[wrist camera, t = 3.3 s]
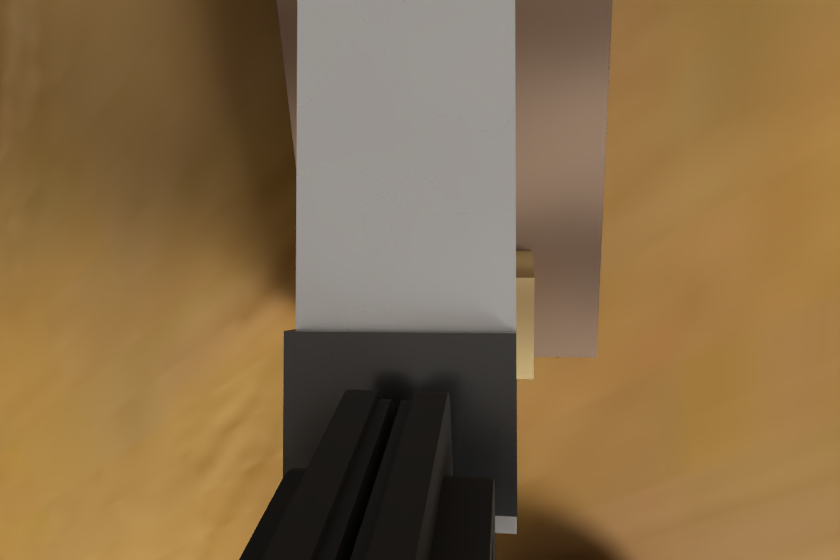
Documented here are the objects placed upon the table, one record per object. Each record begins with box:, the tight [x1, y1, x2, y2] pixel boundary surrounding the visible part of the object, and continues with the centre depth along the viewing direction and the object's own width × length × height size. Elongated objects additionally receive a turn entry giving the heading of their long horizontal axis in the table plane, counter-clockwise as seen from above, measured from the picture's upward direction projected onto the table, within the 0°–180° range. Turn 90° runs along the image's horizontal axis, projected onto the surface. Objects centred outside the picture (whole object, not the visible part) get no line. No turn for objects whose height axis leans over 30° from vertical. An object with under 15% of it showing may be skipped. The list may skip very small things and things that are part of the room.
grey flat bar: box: [283, 0, 517, 534], centre depth 12 cm, size 17×5×2 cm, turn 3°
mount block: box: [276, 0, 612, 379], centre depth 18 cm, size 19×9×5 cm, turn 3°
